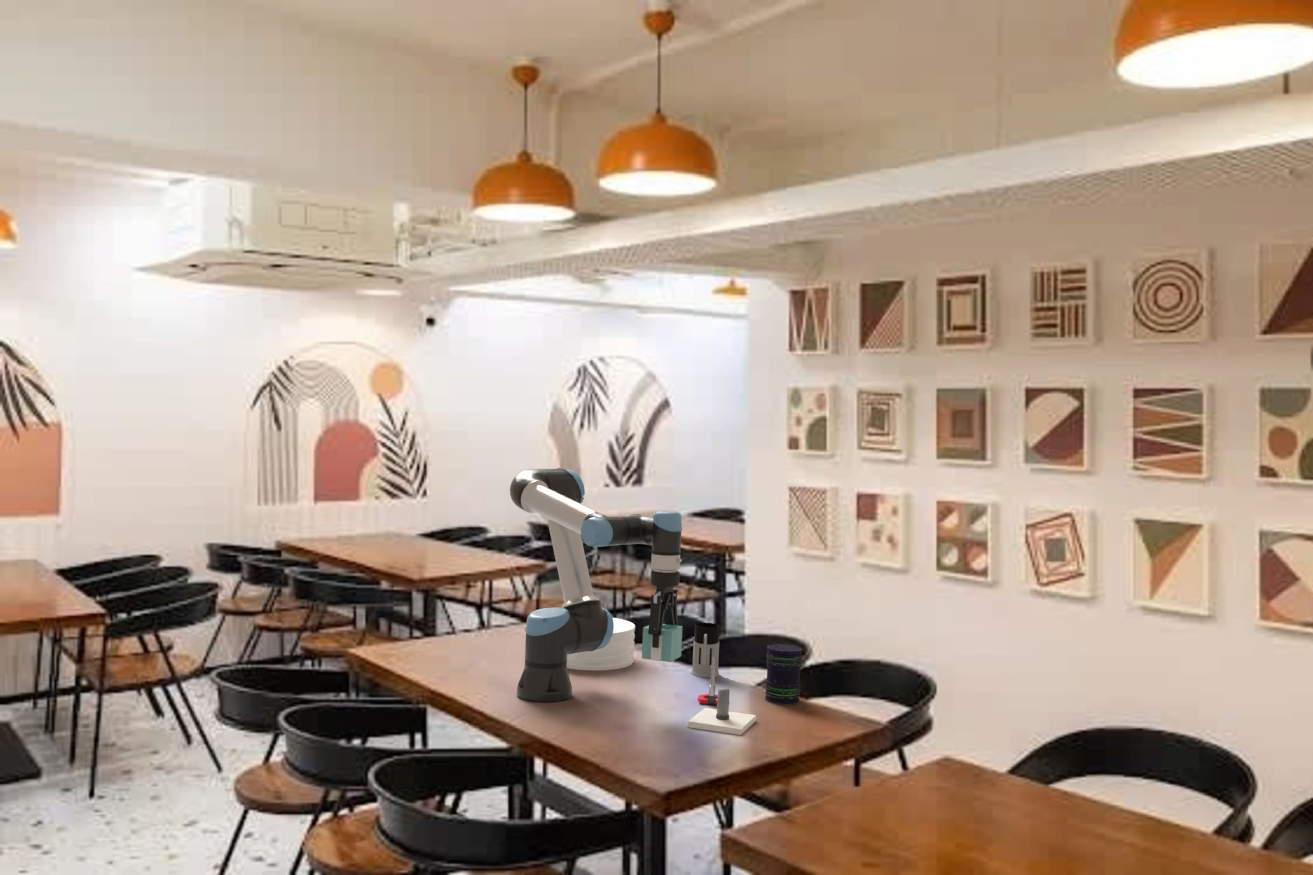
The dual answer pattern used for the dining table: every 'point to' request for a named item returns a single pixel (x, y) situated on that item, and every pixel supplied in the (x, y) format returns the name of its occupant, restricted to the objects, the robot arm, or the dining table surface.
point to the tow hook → (710, 689)
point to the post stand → (722, 717)
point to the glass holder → (705, 649)
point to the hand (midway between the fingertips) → (662, 656)
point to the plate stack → (608, 651)
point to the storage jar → (783, 674)
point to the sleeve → (664, 642)
